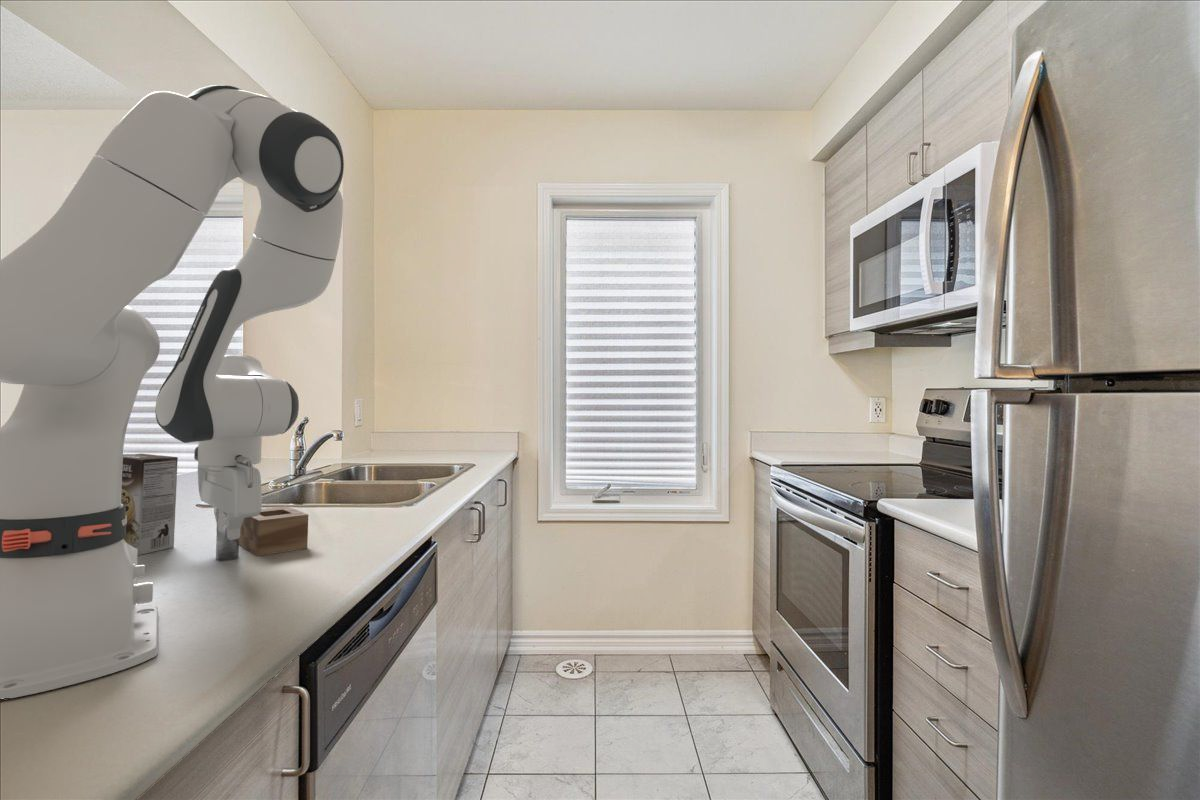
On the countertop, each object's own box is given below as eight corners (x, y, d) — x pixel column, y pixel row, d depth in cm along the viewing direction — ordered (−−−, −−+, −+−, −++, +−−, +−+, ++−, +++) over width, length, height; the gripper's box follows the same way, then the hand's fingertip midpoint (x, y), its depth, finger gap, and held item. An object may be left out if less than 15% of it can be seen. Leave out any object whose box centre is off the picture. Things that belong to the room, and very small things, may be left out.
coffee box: (99, 550, 98) (101, 455, 98) (139, 541, 104) (141, 452, 104) (137, 556, 95) (140, 458, 95) (176, 546, 102) (179, 455, 101)
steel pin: (241, 558, 96) (243, 498, 96) (219, 561, 94) (221, 500, 94) (235, 554, 98) (236, 495, 98) (213, 557, 96) (215, 497, 96)
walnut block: (307, 547, 104) (308, 514, 104) (258, 555, 98) (259, 520, 98) (285, 537, 110) (286, 506, 110) (238, 544, 104) (239, 511, 104)
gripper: (274, 457, 91) (271, 545, 91) (232, 447, 105) (230, 523, 105) (228, 460, 87) (225, 552, 87) (191, 448, 100) (188, 528, 100)
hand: (228, 536), depth 96 cm, fingers closed on steel pin, 3 cm apart
